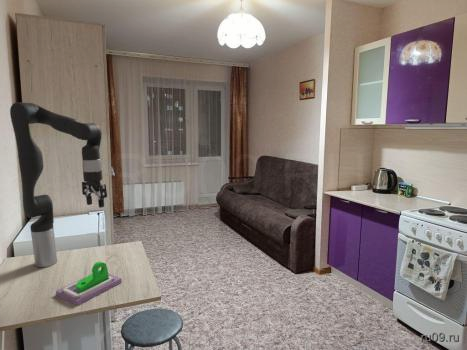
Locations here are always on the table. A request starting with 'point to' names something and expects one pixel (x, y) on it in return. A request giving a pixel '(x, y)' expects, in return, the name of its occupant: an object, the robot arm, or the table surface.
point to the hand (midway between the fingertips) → (95, 205)
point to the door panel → (78, 297)
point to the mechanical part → (93, 277)
